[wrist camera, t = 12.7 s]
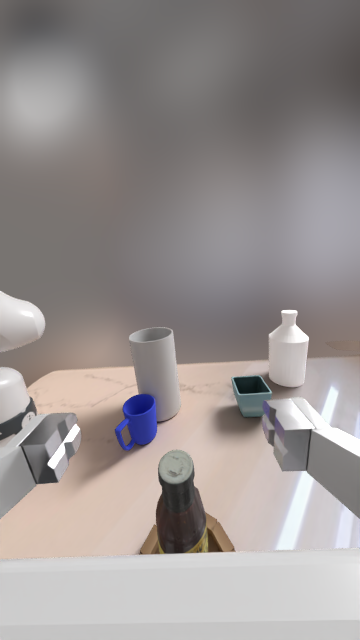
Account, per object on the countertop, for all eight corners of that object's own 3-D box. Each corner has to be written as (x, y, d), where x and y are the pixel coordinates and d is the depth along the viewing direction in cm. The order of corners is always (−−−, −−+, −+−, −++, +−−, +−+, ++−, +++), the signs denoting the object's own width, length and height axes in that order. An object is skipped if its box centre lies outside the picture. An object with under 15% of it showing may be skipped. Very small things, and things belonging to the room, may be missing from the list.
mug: (111, 455, 46) (102, 421, 43) (142, 420, 56) (137, 390, 53) (136, 469, 42) (129, 433, 39) (165, 428, 52) (161, 397, 49)
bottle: (269, 367, 77) (271, 307, 70) (304, 372, 71) (309, 308, 64) (266, 383, 67) (267, 315, 61) (306, 391, 61) (312, 316, 55)
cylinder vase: (184, 418, 55) (175, 338, 48) (140, 426, 54) (125, 345, 47) (178, 392, 67) (170, 325, 60) (143, 398, 66) (131, 330, 59)
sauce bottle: (185, 640, 22) (164, 520, 16) (156, 576, 26) (133, 468, 21) (221, 579, 25) (213, 468, 20) (190, 533, 30) (177, 433, 25)
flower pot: (231, 401, 60) (230, 376, 58) (260, 400, 59) (260, 374, 57) (238, 423, 51) (238, 395, 49) (271, 421, 51) (272, 393, 48)
